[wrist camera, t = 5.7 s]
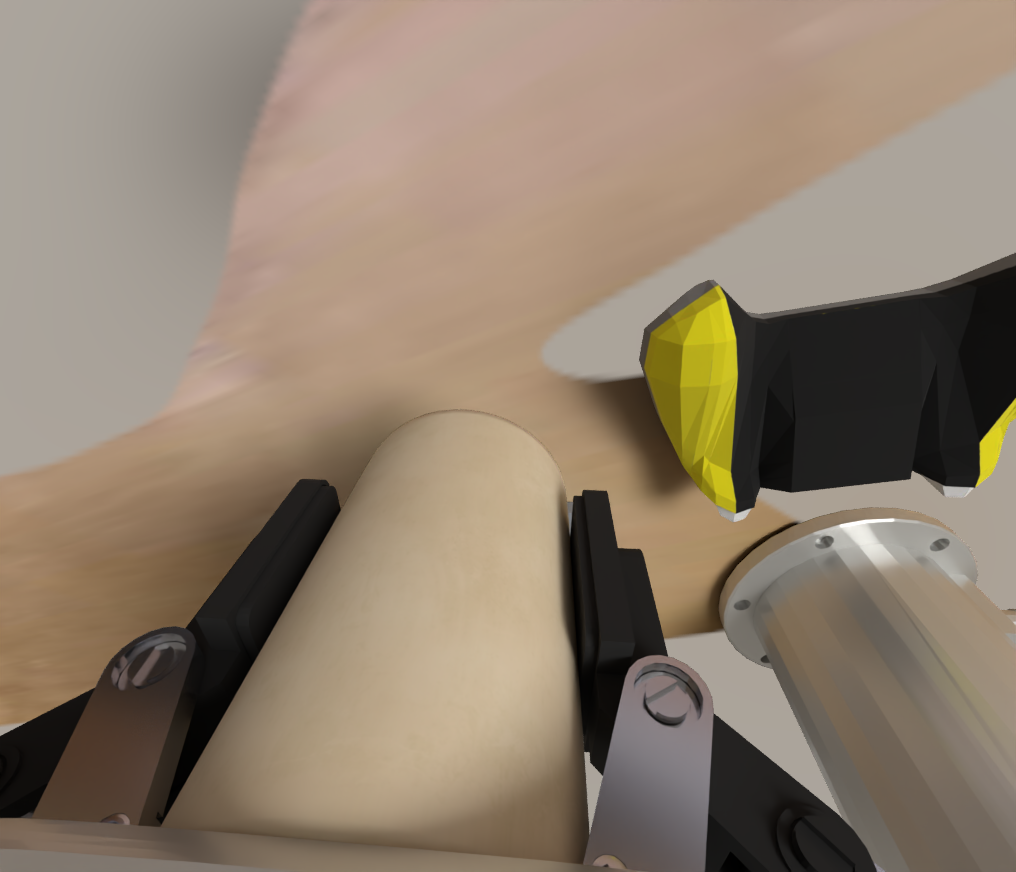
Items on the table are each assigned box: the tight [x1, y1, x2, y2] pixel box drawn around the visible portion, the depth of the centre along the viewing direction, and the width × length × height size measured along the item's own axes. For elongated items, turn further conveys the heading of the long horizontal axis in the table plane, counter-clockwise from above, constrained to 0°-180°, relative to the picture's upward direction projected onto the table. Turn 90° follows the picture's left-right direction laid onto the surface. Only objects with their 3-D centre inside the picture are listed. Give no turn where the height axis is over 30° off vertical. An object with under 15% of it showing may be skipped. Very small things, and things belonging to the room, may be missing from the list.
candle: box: [161, 410, 590, 865], centre depth 9 cm, size 6×6×10 cm
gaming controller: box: [639, 253, 1016, 522], centre depth 17 cm, size 15×6×10 cm
